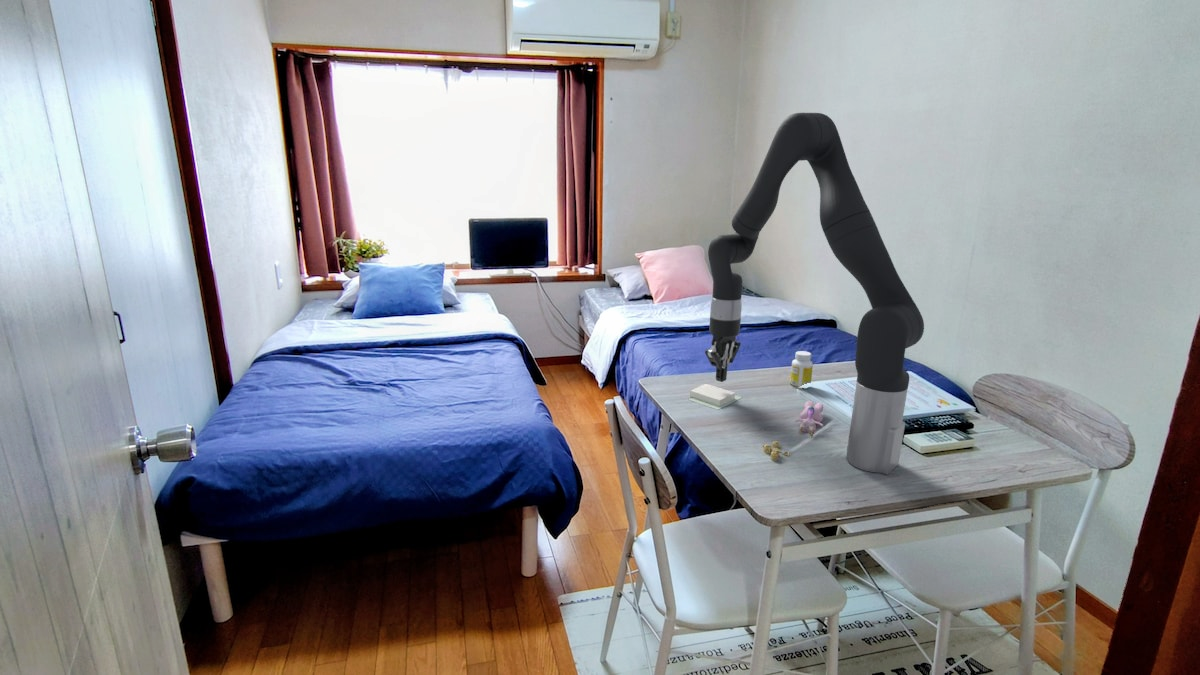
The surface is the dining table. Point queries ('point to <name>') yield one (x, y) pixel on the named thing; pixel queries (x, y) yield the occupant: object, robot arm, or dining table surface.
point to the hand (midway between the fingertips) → (721, 380)
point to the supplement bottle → (801, 369)
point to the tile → (712, 394)
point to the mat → (713, 404)
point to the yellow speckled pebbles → (774, 451)
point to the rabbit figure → (810, 417)
